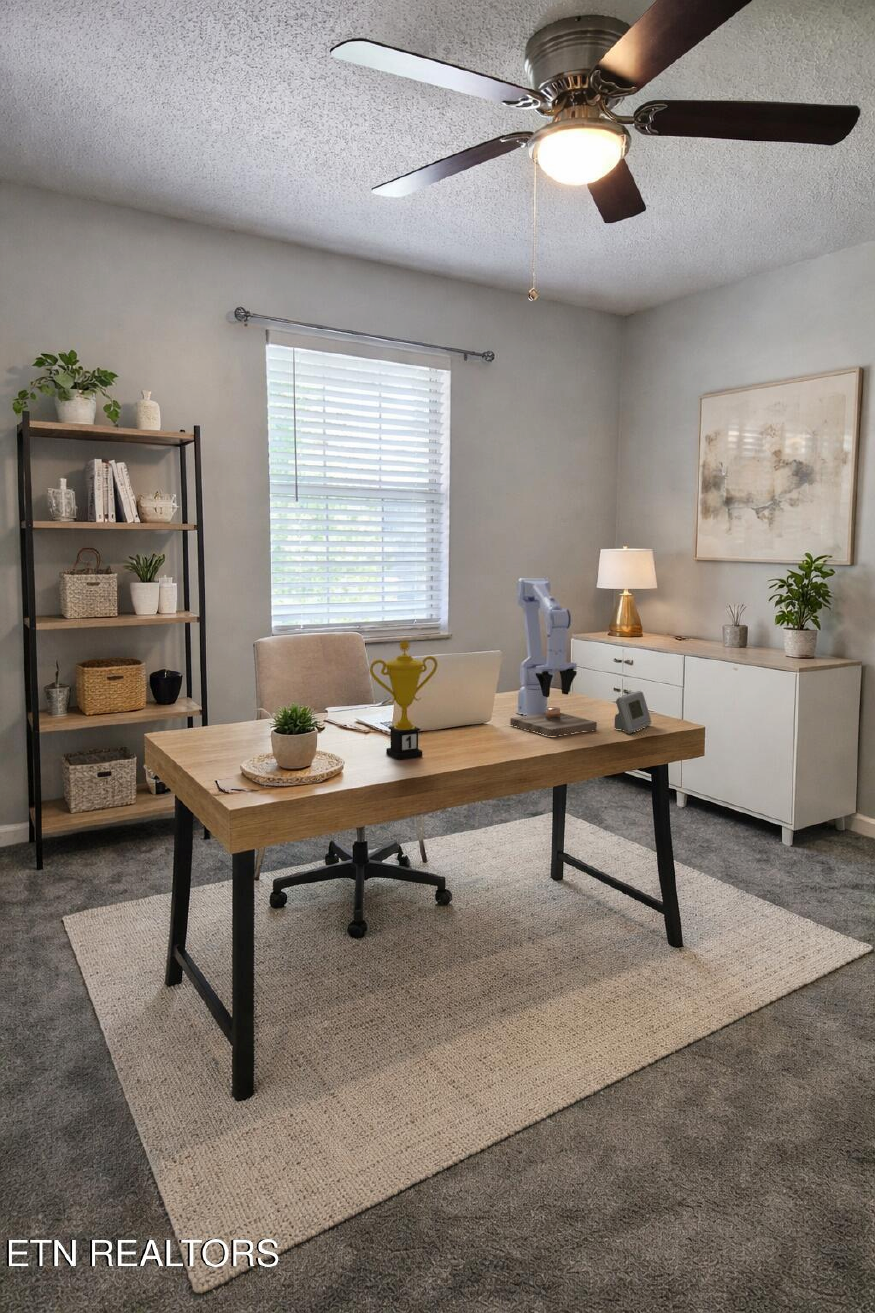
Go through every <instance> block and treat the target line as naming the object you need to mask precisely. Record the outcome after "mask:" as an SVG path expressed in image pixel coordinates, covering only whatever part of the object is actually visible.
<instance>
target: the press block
mask: <svg viewBox="0 0 875 1313" xmlns="http://www.w3.org/2000/svg"><path fill="white" fill-rule="evenodd" d="M546 715H547V713H541V714H534V715H527V716H525V715H521V716H513V717H509V718H510V722H509V723H510V724H509V726H510V725H513V726H517V727H519V728H522V729H526V730H529V731H535V732H538V733H541V734H544V735H547V736H559V735H564V734H571V733H575V732H582V731H590V732H593V731H592V730H596V731H597V723H598V722H597V721H593V720H590V719H586V718H582V717H578V716H574V715H570V714H566V713H562V712H560V717H559V718H549V717H546ZM519 728H518V729H519ZM522 729H521V730H522ZM529 731H528V732H529Z"/></svg>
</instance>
